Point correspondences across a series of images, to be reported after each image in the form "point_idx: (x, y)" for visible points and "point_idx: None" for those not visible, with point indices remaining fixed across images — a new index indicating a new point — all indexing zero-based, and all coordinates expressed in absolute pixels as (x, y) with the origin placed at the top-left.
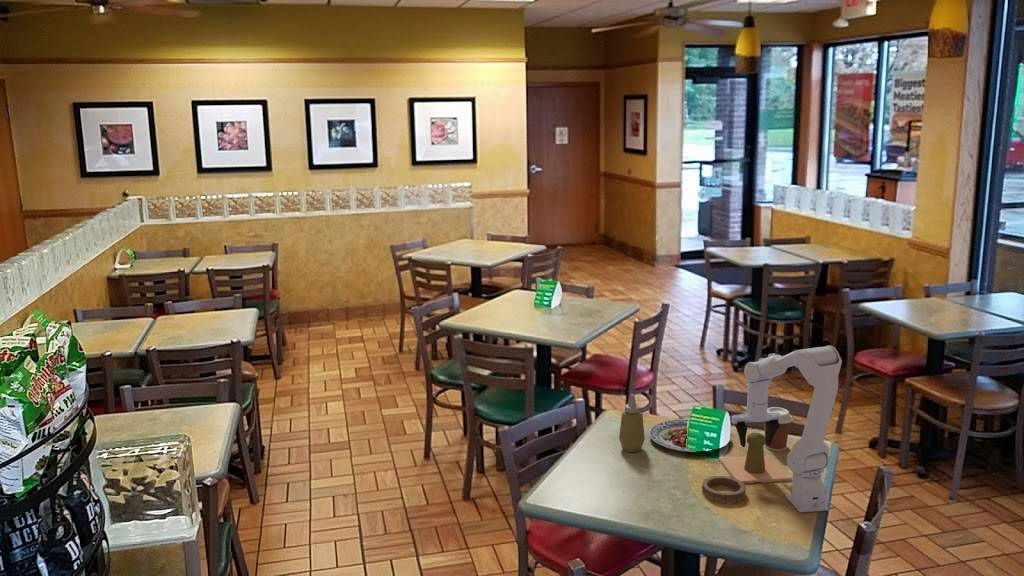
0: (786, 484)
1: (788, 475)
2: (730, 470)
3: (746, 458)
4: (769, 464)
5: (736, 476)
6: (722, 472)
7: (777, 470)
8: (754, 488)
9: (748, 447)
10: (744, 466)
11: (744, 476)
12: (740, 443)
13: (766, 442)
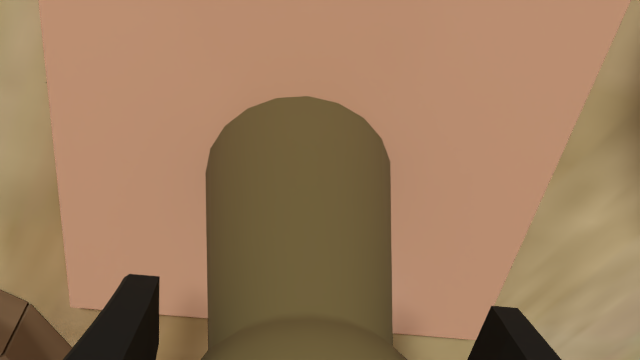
0: (403, 353)
1: (483, 313)
2: (67, 149)
3: (209, 231)
4: (484, 134)
5: (86, 246)
6: (4, 105)
7: (466, 238)
8: (171, 353)
9: (210, 332)
10: (211, 159)
11: (152, 259)
12: (120, 288)
13: (487, 339)
